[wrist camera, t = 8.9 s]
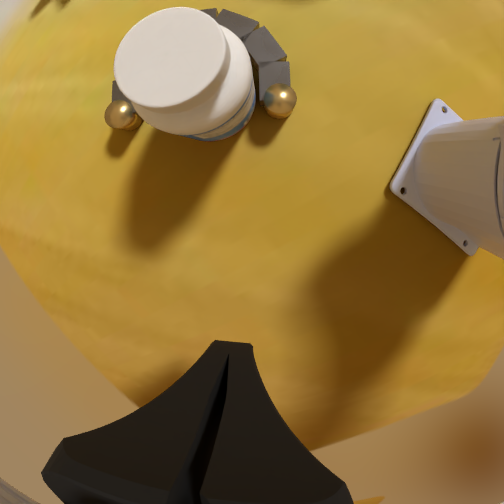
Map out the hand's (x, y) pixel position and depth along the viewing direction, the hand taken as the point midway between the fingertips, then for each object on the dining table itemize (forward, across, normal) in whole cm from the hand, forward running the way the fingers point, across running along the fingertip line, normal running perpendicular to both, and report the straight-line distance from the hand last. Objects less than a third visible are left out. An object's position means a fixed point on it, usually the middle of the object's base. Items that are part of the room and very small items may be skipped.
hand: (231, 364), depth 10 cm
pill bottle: (+11, +3, -11) cm, 15 cm away
